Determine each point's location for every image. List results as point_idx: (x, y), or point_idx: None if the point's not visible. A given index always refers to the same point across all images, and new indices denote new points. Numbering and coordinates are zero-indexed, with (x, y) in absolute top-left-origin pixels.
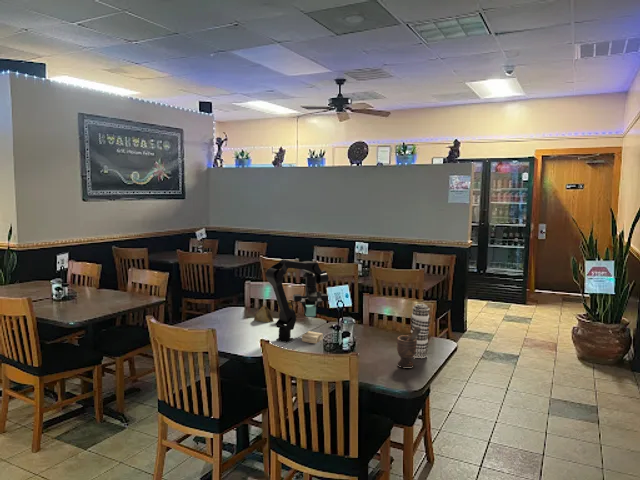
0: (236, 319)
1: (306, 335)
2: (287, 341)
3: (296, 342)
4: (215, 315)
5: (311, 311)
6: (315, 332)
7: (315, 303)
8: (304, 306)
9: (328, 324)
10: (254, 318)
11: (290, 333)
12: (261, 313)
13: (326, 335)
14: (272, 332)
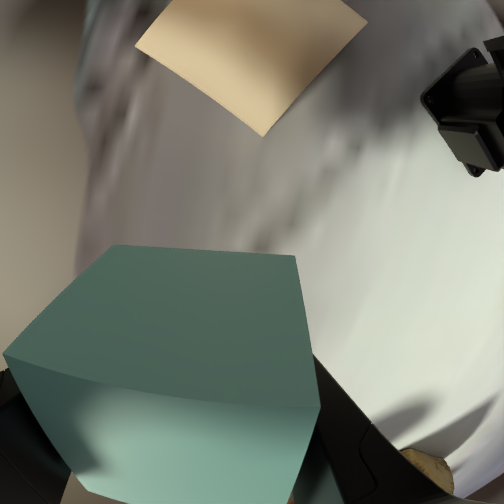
0: (483, 455)
1: (325, 2)
2: (466, 52)
3: (401, 24)
4: (500, 469)
5: (163, 300)
6: (199, 82)
7: (37, 494)
8: (369, 457)
9: None
10: (446, 464)
11: (456, 124)
12: (443, 480)
13: (100, 163)
14: (481, 302)
